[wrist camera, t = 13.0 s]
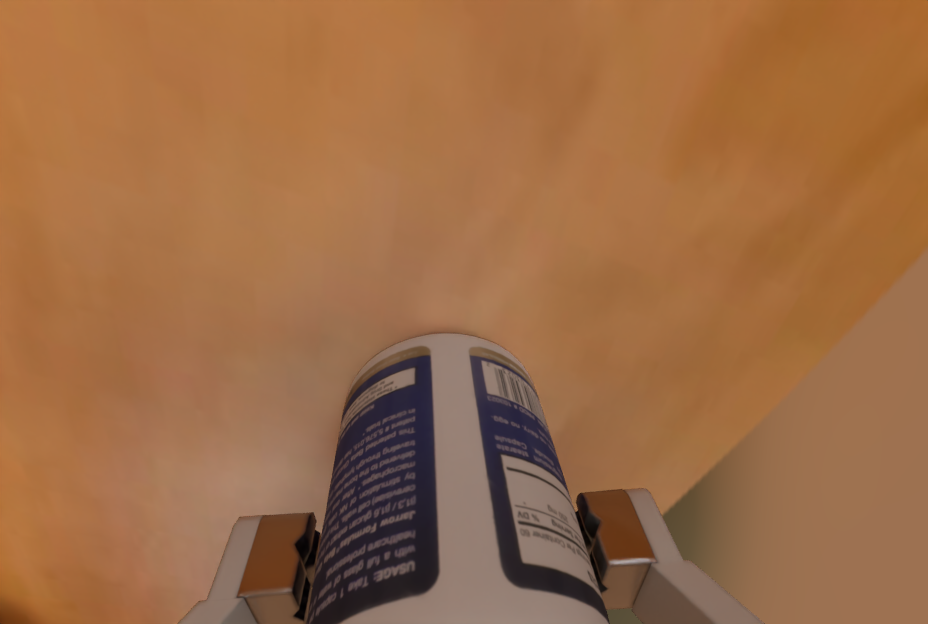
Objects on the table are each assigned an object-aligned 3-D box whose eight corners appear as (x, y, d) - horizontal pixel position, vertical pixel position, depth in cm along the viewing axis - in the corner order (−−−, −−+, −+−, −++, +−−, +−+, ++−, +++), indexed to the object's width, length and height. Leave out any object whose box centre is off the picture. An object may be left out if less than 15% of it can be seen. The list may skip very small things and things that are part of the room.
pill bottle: (355, 466, 15) (277, 1045, 6) (336, 327, 12) (149, 1072, 3) (523, 459, 15) (647, 988, 7) (546, 324, 12) (811, 971, 4)
